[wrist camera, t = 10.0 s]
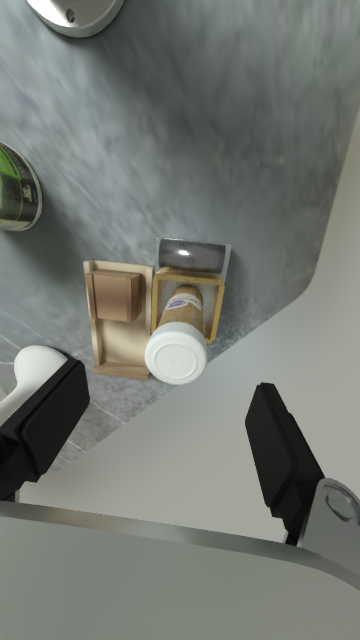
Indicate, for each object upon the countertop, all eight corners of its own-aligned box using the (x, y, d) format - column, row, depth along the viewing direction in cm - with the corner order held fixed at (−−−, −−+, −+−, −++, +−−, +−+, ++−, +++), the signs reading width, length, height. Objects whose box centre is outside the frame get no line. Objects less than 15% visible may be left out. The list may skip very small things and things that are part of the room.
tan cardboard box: (100, 268, 27) (84, 273, 24) (141, 272, 27) (132, 278, 23) (104, 308, 30) (90, 318, 26) (141, 312, 30) (132, 323, 26)
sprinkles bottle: (192, 278, 24) (186, 321, 12) (209, 307, 26) (219, 373, 13) (162, 295, 25) (129, 350, 13) (180, 323, 27) (165, 395, 14)
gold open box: (161, 236, 26) (149, 236, 20) (227, 243, 26) (237, 245, 19) (158, 316, 31) (147, 337, 25) (213, 322, 31) (217, 346, 24)
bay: (92, 259, 28) (78, 262, 25) (155, 266, 28) (150, 269, 25) (102, 361, 36) (92, 373, 33) (152, 367, 35) (147, 380, 32)
